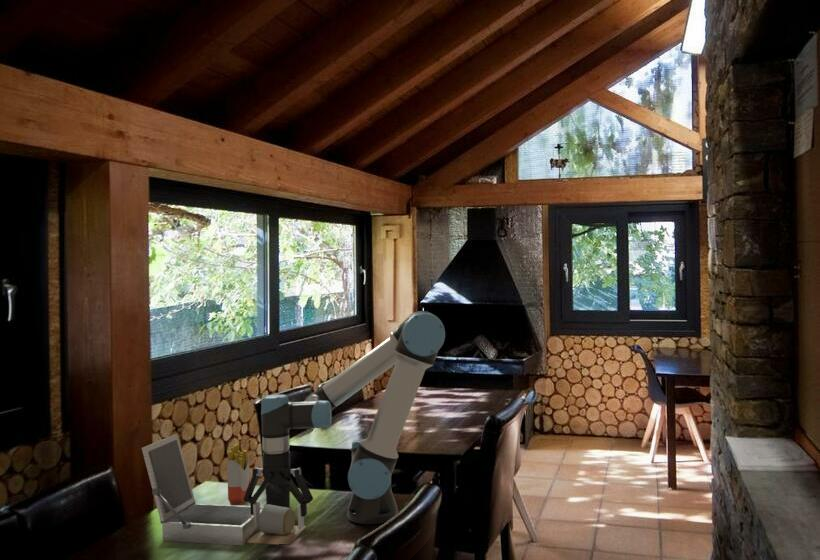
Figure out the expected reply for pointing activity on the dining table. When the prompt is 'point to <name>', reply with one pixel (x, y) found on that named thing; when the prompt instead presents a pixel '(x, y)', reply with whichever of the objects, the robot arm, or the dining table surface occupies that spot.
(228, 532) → the equipment case
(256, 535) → the cork pad
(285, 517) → the ceramic mug
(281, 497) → the travel mug
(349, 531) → the dining table surface
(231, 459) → the french fries container
